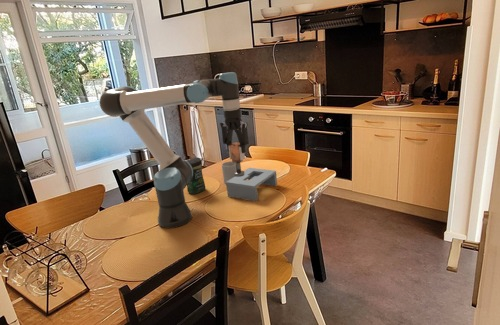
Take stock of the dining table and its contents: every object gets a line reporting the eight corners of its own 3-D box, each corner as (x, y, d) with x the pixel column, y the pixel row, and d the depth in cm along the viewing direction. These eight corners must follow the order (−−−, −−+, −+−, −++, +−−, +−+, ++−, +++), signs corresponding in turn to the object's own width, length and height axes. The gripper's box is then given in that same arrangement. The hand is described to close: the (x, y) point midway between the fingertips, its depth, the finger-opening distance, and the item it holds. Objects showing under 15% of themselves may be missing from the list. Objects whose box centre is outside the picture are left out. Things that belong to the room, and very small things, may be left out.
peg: (240, 177, 153) (237, 145, 149) (231, 176, 156) (227, 145, 151) (246, 173, 157) (243, 142, 153) (237, 172, 160) (234, 142, 156)
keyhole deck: (255, 201, 163) (254, 186, 161) (227, 196, 172) (225, 182, 170) (277, 184, 181) (276, 170, 178) (250, 180, 190) (249, 167, 187)
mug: (232, 185, 186) (230, 167, 182) (220, 183, 191) (218, 165, 187) (245, 178, 195) (243, 160, 191) (233, 176, 200) (231, 158, 196)
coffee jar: (194, 195, 178) (189, 162, 172) (185, 192, 183) (179, 160, 177) (208, 189, 184) (203, 157, 179) (199, 186, 190) (194, 155, 184)
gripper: (253, 107, 145) (258, 158, 152) (220, 107, 155) (226, 155, 162) (244, 110, 139) (249, 163, 147) (210, 110, 149) (216, 159, 156)
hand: (237, 158), depth 154 cm, fingers closed on peg, 5 cm apart
